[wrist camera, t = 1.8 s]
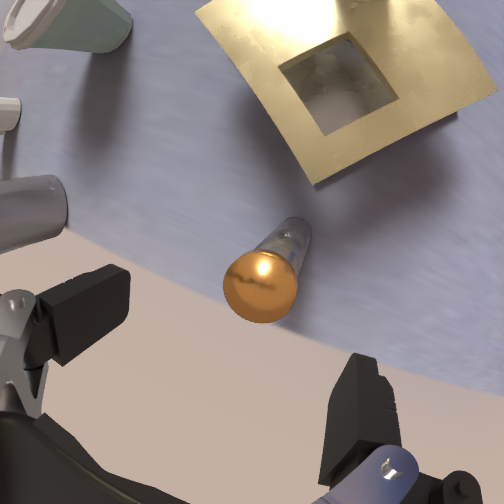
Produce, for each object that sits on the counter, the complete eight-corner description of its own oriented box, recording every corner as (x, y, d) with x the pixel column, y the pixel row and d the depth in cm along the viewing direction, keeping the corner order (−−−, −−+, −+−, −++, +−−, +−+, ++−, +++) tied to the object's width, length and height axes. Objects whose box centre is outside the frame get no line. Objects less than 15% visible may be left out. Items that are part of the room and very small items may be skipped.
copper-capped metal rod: (287, 257, 27) (246, 332, 14) (269, 225, 27) (210, 273, 14) (320, 241, 26) (308, 307, 13) (302, 208, 26) (271, 241, 13)
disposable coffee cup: (137, -11, 23) (63, -56, 9) (158, 34, 24) (65, -17, 10) (81, 36, 27) (2, 12, 12) (93, 86, 28) (-3, 68, 14)
